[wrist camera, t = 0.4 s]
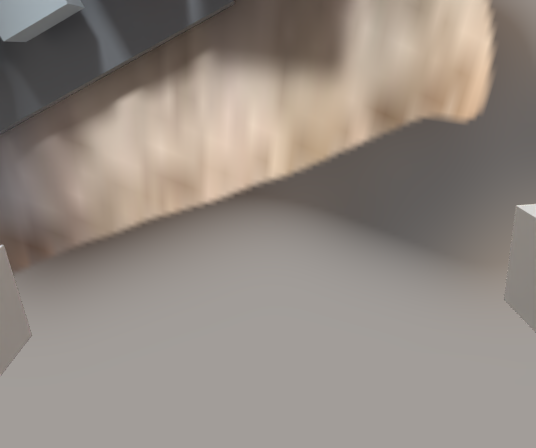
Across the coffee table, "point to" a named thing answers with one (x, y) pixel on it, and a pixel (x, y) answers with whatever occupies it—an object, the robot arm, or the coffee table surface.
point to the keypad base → (89, 49)
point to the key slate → (33, 17)
